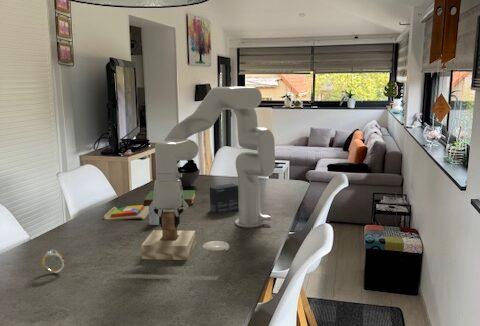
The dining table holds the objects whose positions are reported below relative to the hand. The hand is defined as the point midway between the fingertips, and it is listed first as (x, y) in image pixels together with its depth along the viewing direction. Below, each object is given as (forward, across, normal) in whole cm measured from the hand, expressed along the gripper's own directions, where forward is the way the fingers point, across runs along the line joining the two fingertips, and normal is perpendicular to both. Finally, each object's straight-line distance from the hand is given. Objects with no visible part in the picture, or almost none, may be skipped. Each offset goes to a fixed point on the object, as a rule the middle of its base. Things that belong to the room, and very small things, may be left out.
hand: (169, 225), depth 160 cm
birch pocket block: (+10, 0, 0) cm, 10 cm away
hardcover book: (+12, +16, -72) cm, 75 cm away
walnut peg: (+6, 0, 0) cm, 6 cm away
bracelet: (+10, +34, +19) cm, 41 cm away
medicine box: (+11, +14, -36) cm, 40 cm away
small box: (+11, -14, -57) cm, 59 cm away
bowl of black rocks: (+12, +16, -105) cm, 106 cm away
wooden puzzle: (+11, +31, -48) cm, 58 cm away
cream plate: (+11, -16, -6) cm, 20 cm away
